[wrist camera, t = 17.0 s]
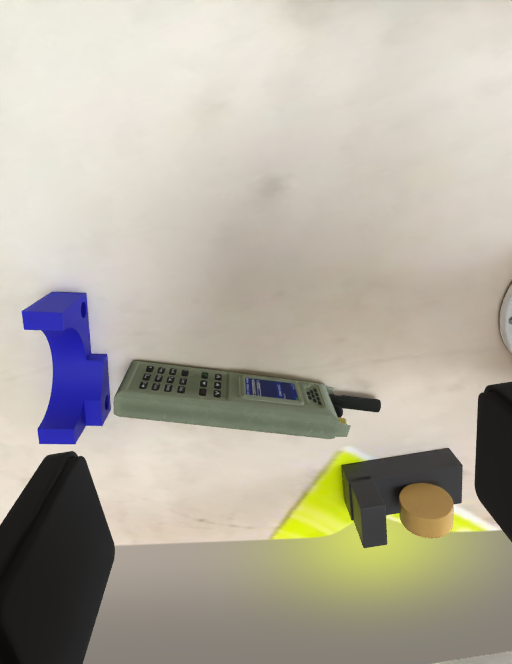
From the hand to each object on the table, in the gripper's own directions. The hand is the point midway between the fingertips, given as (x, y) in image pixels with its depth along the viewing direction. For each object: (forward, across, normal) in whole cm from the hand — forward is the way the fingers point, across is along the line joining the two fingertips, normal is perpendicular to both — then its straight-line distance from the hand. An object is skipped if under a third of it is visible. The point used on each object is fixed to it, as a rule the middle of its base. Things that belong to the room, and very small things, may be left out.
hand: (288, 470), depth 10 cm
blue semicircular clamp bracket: (+31, +17, +7) cm, 35 cm away
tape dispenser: (+30, -13, +27) cm, 43 cm away
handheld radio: (+31, +1, +13) cm, 33 cm away
